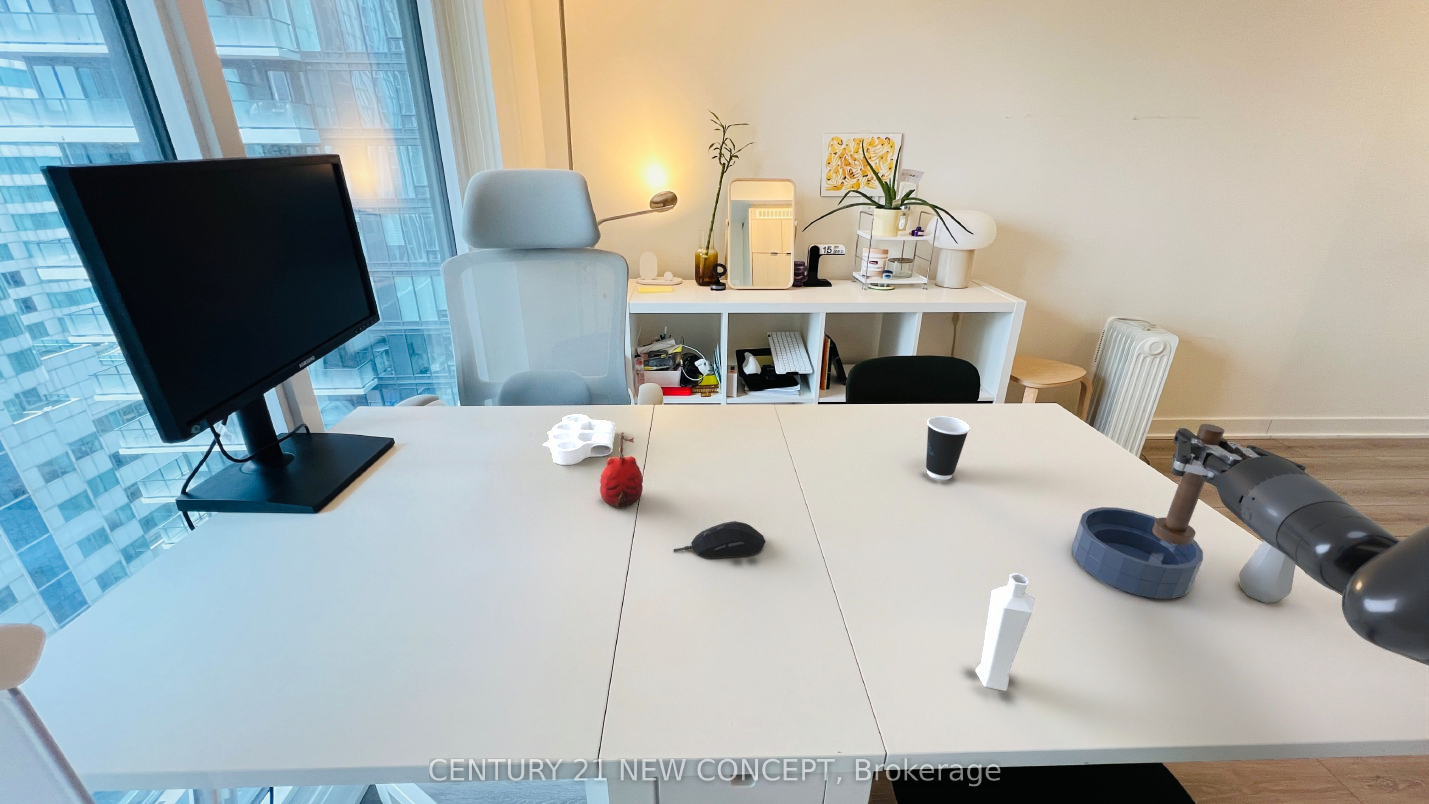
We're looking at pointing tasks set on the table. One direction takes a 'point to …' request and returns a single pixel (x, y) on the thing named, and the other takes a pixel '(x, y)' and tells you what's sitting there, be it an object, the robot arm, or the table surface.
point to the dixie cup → (944, 445)
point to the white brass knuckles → (580, 439)
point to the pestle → (1186, 498)
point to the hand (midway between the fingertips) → (1192, 435)
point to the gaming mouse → (727, 541)
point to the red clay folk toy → (621, 480)
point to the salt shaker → (1267, 574)
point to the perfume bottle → (1004, 631)
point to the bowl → (1134, 554)
